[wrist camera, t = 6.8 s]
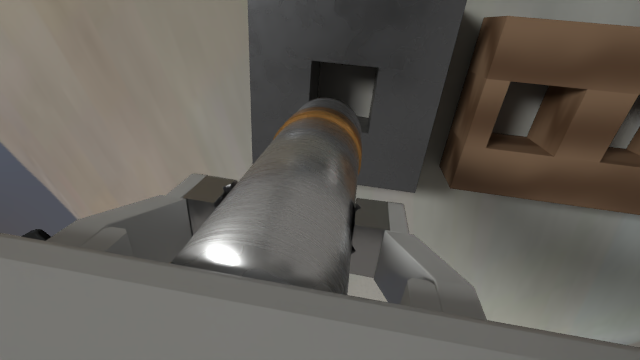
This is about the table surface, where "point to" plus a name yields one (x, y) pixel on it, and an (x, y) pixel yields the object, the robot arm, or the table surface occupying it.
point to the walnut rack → (550, 114)
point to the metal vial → (290, 206)
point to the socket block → (364, 50)
